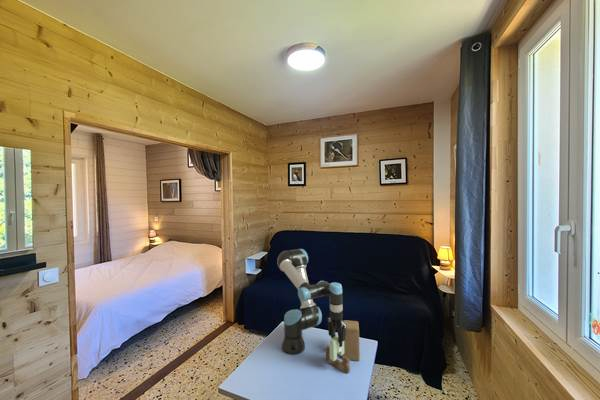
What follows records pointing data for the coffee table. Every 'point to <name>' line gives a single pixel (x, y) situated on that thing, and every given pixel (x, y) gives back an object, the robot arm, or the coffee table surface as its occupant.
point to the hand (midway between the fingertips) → (337, 350)
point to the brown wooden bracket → (338, 362)
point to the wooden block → (352, 340)
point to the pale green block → (335, 348)
